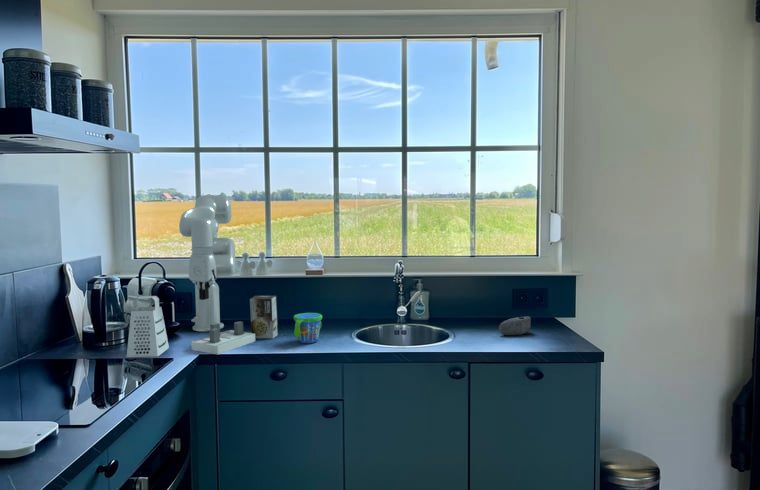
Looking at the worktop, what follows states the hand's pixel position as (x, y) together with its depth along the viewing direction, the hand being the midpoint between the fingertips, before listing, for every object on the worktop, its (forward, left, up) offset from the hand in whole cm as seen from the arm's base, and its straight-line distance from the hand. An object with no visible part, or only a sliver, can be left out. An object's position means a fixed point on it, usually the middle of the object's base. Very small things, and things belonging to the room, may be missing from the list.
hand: (204, 299), depth 182 cm
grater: (-8, -19, -17) cm, 27 cm away
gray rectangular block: (+12, +6, -13) cm, 19 cm away
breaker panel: (+10, 0, -17) cm, 20 cm away
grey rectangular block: (+6, 0, -13) cm, 15 cm away
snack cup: (+35, +18, -17) cm, 43 cm away
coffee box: (+15, +16, -17) cm, 28 cm away
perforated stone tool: (+104, +63, -17) cm, 123 cm away
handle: (+12, -6, -14) cm, 19 cm away
